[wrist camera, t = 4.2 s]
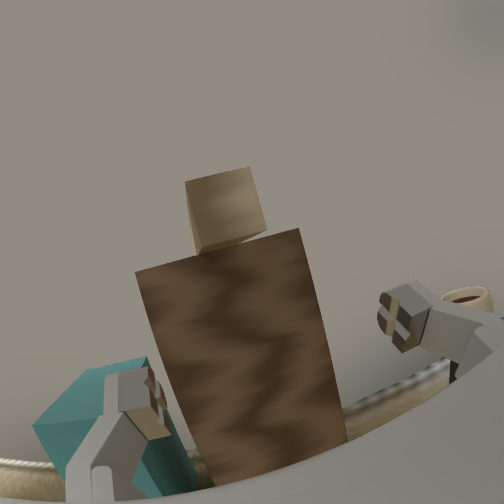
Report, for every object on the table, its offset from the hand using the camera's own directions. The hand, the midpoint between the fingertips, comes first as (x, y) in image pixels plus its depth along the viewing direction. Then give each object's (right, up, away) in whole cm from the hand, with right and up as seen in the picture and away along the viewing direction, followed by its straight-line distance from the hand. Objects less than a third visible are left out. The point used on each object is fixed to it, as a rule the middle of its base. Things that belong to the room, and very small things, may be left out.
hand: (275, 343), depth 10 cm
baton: (-3, +3, +14) cm, 15 cm away
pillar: (+3, -22, +18) cm, 29 cm away
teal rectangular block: (-10, -26, +15) cm, 32 cm away
